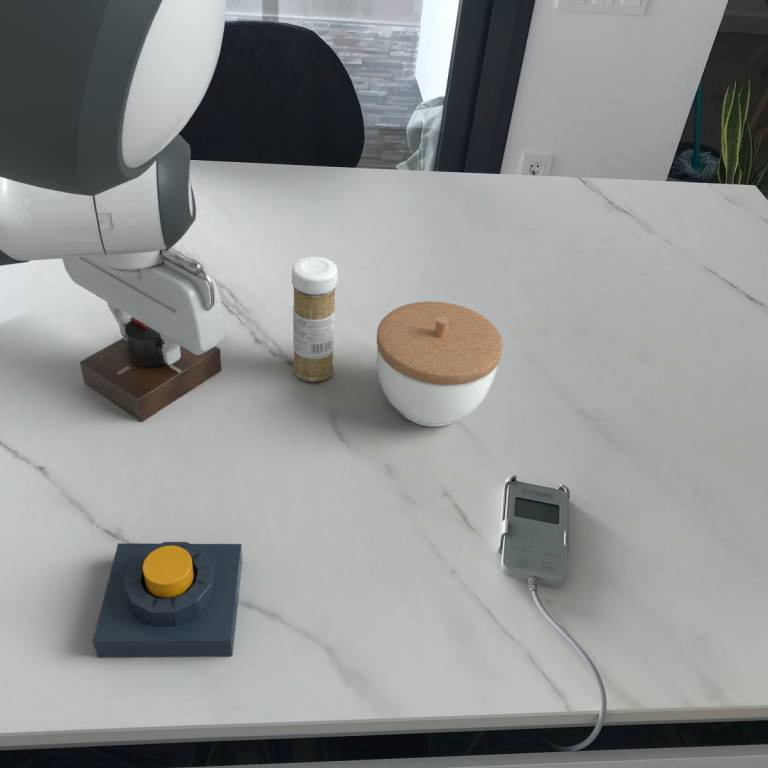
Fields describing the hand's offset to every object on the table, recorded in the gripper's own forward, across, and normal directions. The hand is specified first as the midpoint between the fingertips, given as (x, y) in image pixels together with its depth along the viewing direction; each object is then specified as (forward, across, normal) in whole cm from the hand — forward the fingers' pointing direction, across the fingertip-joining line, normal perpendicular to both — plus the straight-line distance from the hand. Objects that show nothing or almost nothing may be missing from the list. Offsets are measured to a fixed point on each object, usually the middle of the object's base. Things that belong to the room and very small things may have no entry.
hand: (150, 347), depth 81 cm
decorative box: (+4, -25, -16) cm, 30 cm away
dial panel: (+4, 0, 0) cm, 4 cm away
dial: (+1, 0, 0) cm, 1 cm away
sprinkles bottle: (+4, -12, -12) cm, 17 cm away
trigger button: (0, -23, +18) cm, 29 cm away
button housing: (+4, -23, +18) cm, 30 cm away
